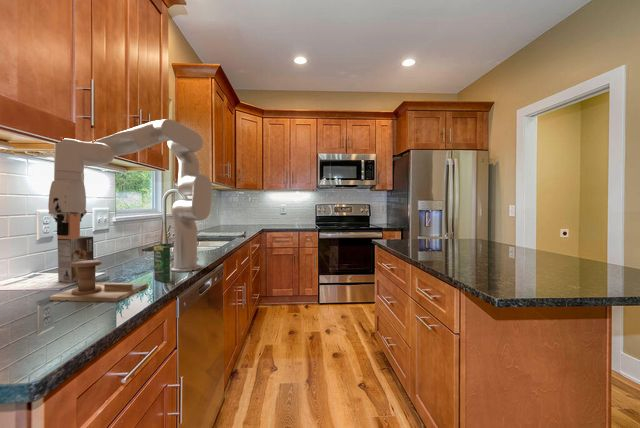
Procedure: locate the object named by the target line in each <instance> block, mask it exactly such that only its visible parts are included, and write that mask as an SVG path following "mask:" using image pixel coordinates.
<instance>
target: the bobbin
mask: <svg viewBox="0 0 640 428" xmlns="http://www.w3.org/2000/svg"><path fill="white" fill-rule="evenodd" d="M102 262H103V261H102V260H98V259H95V260H88V261H79V262H74V263H72V264H71V266H72V267H78V281H77V287H78V288H76V287H75V288H76V289H74V290H72V295H88V294H93V293H97V292H100V291H101V290H102V287H100V286H95V282H96V267H97V266H101V265H103V264H102Z"/></svg>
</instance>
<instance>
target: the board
mask: <svg viewBox="0 0 640 428" xmlns="http://www.w3.org/2000/svg"><path fill="white" fill-rule="evenodd" d="M95 286H100V287H102V290H101V291H100V292H97V293H93V294H88V295H72V290H74V289H76V288H78V286H77V287H73V288H71V289H68V290H65V291H61V292H58V293H55V294H53V295H50V296H49V301H59V300H60V302H62V301H63V302H65V301H66V300H68V301H69V302H111V303H113V302H118V301H121V300H123V299H126V298H127V297H130V296H132V295H134V294H137V293H138V292H140V291H143V290H144V289H146V288H149V283H147V282H146V283H143V282H141V283H140V282H139V283H138V282H99V281H98V282H96V281H95ZM68 301H67V302H68Z"/></svg>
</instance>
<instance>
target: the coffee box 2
mask: <svg viewBox="0 0 640 428" xmlns="http://www.w3.org/2000/svg"><path fill="white" fill-rule="evenodd" d="M170 267H171V247H170V246H164V245H155V246H153V273H154V274H153V277H154V279H153V280H155V281H159V282H161V283H169V282H171V270H170Z"/></svg>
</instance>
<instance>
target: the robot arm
mask: <svg viewBox="0 0 640 428" xmlns="http://www.w3.org/2000/svg"><path fill="white" fill-rule="evenodd" d="M95 140H96V141H95ZM95 140H94V141H95V142H94V143H92V141H81V140H77V139H73V138H64V139H62V141H61V142H58V143H55V142H54V155H53V156H54V158H53V159H54V162H53V163H54V164H53V175H54V176H53V178H54V179H53V180H52V182H51V183H50V184H51V185H50V189H49V194H48V206H47V207H48V208H47V209H48V214H49V215H50V216H51V217H52V218H53V219H54V220H55V221H54V222H55V223H56V235H64V236H66V235H68V223H66V222H67V218H68V213H77V214H80V223H81V222H82V218H84V216H85V215H86V214H87V213H88V211H87V196H86V194H87V193H86V185H85V167H94V166H95V167H96V166H104V165H105V166H106V165H109V164H110V163H111V162H112V161H113V160H114V158H116V157H119V156H125V155H130V154H131V155H132V154H134V153H138V152H141V151H143V150H145V149H148V148H151V147H152V146H156V145H158V144H161V143H163V142H164V143H165V142H167V146H168V148H169V150H170V151H171V152H172V153H173V155H175V157H176V158H177V160H178V177H177V191H178V193H180V194H181V195H182V196H186V197H191V198H180V199H178V200H176V201H174V203H173V204H172V207H171V214H172V215H171V216H172V220H173V265H170V272H178V273H180V272H182V273H183V272H193V271H192V270H194V271H197V269H198V270H200V269H201V265H200V264H198V262H199V257H198V228H197V223H196V221H197V222H198V221H199V222H200V221H201V222H202V221H204V220H206V219H207V218H208V217H209V216H210V214H211V213H210V212H211V206H212V198H213V197H212V194H213V184H212V181H211V179H210V178H209V176H207V175H205V174H201V173H200V161H199V158H198V157H197V155H196V153H197V152H199V151H200V150H201V149H202V148H203V146H204V140H203V138H202V136H201V135H200V134H199V133H198V132H197V131H195V130H193V129H191V128H189V127H187V126H185V125H184V124H182V123H180V122H178V121H176V120H173V119H170V118H164V119H163V118H162V119H158V120H153V121H150V122H147V123H143V124H140V125H138V126H134V127H132V128H129V129H125V130H122V131H118V132H117V133H114V134H111V135H107V136H105V137H102V138H99V139H95ZM61 215H63V217H62V216H61ZM199 268H200V269H199Z"/></svg>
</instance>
